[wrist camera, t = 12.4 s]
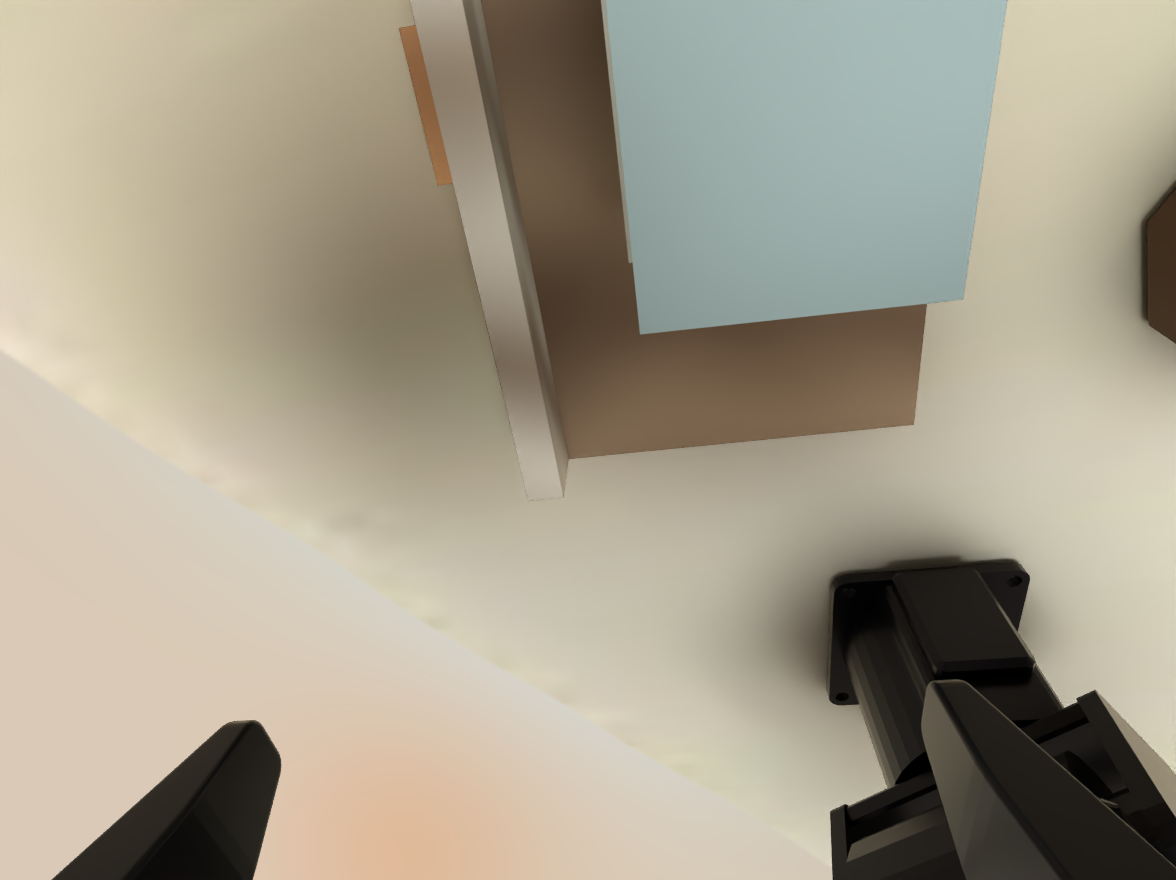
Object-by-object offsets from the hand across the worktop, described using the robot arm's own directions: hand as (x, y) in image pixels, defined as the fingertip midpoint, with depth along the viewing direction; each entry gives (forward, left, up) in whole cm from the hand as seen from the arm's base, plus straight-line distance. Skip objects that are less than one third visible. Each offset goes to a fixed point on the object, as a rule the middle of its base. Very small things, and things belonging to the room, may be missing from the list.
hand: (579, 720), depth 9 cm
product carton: (+7, -4, -12) cm, 14 cm away
